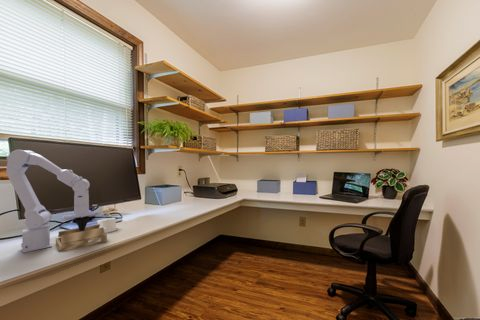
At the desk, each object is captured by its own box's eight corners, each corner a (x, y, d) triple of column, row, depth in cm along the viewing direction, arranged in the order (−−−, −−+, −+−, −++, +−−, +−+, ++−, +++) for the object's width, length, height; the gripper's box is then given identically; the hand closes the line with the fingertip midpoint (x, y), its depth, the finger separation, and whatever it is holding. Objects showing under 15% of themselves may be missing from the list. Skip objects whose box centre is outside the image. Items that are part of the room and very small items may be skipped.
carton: (58, 252, 97) (58, 245, 97) (55, 244, 106) (55, 237, 106) (107, 241, 110) (107, 234, 110) (100, 235, 119) (100, 228, 119)
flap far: (58, 232, 105) (58, 231, 105) (58, 237, 107) (58, 236, 107) (99, 224, 116) (99, 224, 116) (98, 229, 118) (98, 228, 118)
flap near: (61, 244, 98) (61, 243, 98) (60, 235, 100) (60, 235, 100) (104, 234, 109) (104, 234, 109) (103, 227, 111) (103, 227, 111)
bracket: (111, 229, 133) (110, 217, 133) (119, 229, 128) (118, 217, 129) (71, 239, 116) (70, 226, 117) (78, 240, 111) (77, 226, 112)
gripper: (63, 208, 100) (63, 238, 100) (101, 203, 110) (101, 231, 110) (61, 205, 105) (61, 235, 105) (97, 201, 115) (97, 228, 115)
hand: (81, 232), depth 108 cm, fingers closed
